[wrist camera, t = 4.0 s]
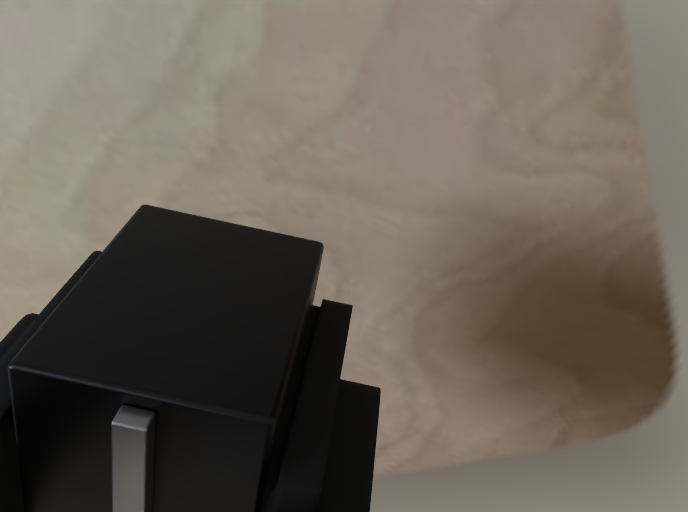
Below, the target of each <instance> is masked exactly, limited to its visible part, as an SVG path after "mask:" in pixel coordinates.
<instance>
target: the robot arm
mask: <svg viewBox="0 0 688 512" xmlns="http://www.w3.org/2000/svg"><path fill="white" fill-rule="evenodd" d="M101 253H102V252H101V251H94V252H93V253H92V254H91V255H90V256H89V257H88V258H87V260H86V261H85V262H84V263H83V264H82V265H81V267H80V268H79V269H78V270H77V271H76V272H75V273H74V275H73V276H72V277H71V278H70V279H69V280H68V282H67V283H66V284H65V285H64V286H63V287H62V288H61V290H60V291H59V292H58V293H57V294H56V295H55V297H54V298H53V299H52V300H51V301H50V302H49V304H48V305H47V306H46V307H45V308H44V309H43V310H42V312H41V313H40V314H39V315H38V314H34V313H31V314H28V315H26V316H25V317H23V318H22V319H21V320H20V321H19V322H18V323H17V324H16V325H15V327H14V328H13V329H12V330H11V331H10V332H9V333H8V334H7V336H6V337H5V338H4V339H3V340H2V341H1V342H0V512H25V509H24V501H23V493H22V484H21V476H20V467H19V459H18V451H17V442H16V434H15V425H14V417H13V409H12V400H11V392H10V383H9V375H8V365H9V363H10V361H11V360H12V359H13V358H14V356H15V355H16V354H17V353H18V352H19V350H20V349H21V348H22V347H23V346H24V344H25V343H26V342H27V341H28V340H29V339H30V337H31V336H32V335H33V334H34V333H35V331H36V330H37V329H38V328H39V327H40V325H41V324H42V323H43V322H44V321H45V320H46V318H47V317H48V316H49V315H50V314H51V312H52V311H53V310H54V309H55V308H56V306H57V305H58V304H59V303H60V302H61V301H62V299H63V298H64V297H65V296H66V295H67V293H68V292H69V291H70V290H71V289H72V287H73V286H74V285H75V284H76V283H77V282H78V280H79V279H80V278H81V277H82V276H83V274H84V273H85V272H86V271H87V270H88V268H89V267H90V266H91V265H92V264H93V263H94V261H95V260H96V259H97V258H98V257H99V255H100V254H101ZM352 307H353V305H348V304H343V303H339V302H334V301H329V300H325V299H323V300H322V304H321V307H318V306H314V305H312V307H311V310H310V314H309V318H308V322H307V326H306V329H305V333H304V337H303V341H302V344H301V348H300V352H299V356H298V360H297V363H296V367H295V371H294V375H293V378H292V382H291V386H290V390H289V393H288V397H287V401H286V405H285V409H284V412H283V416H282V420H281V424H280V427H279V431H278V435H277V439H276V443H275V446H274V450H273V454H272V458H271V461H270V465H269V470H268V474H267V478H266V483H265V487H264V493H263V498H262V504H261V509H260V512H370V502H371V491H372V481H373V470H374V459H375V448H376V437H377V427H378V416H379V405H380V392H381V391H380V388H378V387H374V386H369V385H364V384H360V383H355V382H350V381H346V380H341V379H340V376H341V370H342V364H343V359H344V353H345V347H346V341H347V336H348V330H349V324H350V318H351V313H352Z"/></svg>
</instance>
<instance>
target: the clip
mask: <svg viewBox="0 0 688 512" xmlns="http://www.w3.org/2000/svg"><path fill="white" fill-rule="evenodd" d="M323 249H324V247H323V243H321V242H318V241H313V240H308V239H304V238H299V237H294V236H290V235H285V234H280V233H276V232H271V231H266V230H262V229H257V228H252V227H248V226H243V225H238V224H234V223H229V222H224V221H220V220H215V219H210V218H206V217H201V216H196V215H192V214H187V213H182V212H178V211H173V210H168V209H164V208H159V207H154V206H150V205H142V206H141V207H140V208H139V209H138V210H137V211H136V213H135V214H134V215H133V216H132V217H131V219H130V220H129V221H128V222H127V223H126V225H125V226H124V227H123V228H122V229H121V230H120V232H119V233H118V234H117V235H116V236H115V238H114V239H113V240H112V241H111V242H110V244H109V245H108V246H107V247H106V248H105V249H104V251H103V252H102V253H101V254H100V255H99V257H98V258H97V259H96V260H95V261H94V263H93V264H92V265H91V266H90V267H89V268H88V270H87V271H86V272H85V273H84V274H83V276H82V277H81V278H80V279H79V280H78V282H77V283H76V284H75V285H74V286H73V287H72V289H71V290H70V291H69V292H68V293H67V295H66V296H65V297H64V298H63V299H62V301H61V302H60V303H59V304H58V305H57V306H56V308H55V309H54V310H53V311H52V312H51V314H50V315H49V316H48V317H47V318H46V320H45V321H44V322H43V323H42V324H41V325H40V327H39V328H38V329H37V330H36V331H35V333H34V334H33V335H32V336H31V337H30V339H29V340H28V341H27V342H26V343H25V344H24V346H23V347H22V348H21V349H20V350H19V352H18V353H17V354H16V355H15V356H14V358H13V359H12V360H11V361H10V363H9V365H8V375H9V383H10V392H11V400H12V409H13V417H14V425H15V434H16V442H17V451H18V459H19V467H20V476H21V484H22V493H23V501H24V509H25V512H260V509H261V504H262V498H263V493H264V487H265V483H266V478H267V474H268V470H269V465H270V461H271V458H272V454H273V450H274V446H275V443H276V439H277V435H278V431H279V427H280V424H281V420H282V416H283V412H284V409H285V405H286V401H287V397H288V393H289V390H290V386H291V382H292V378H293V375H294V371H295V367H296V363H297V360H298V356H299V352H300V348H301V344H302V341H303V337H304V333H305V329H306V326H307V322H308V318H309V314H310V310H311V307H312V305H313V301H314V295H315V290H316V285H317V280H318V275H319V270H320V264H321V259H322V254H323Z"/></svg>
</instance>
